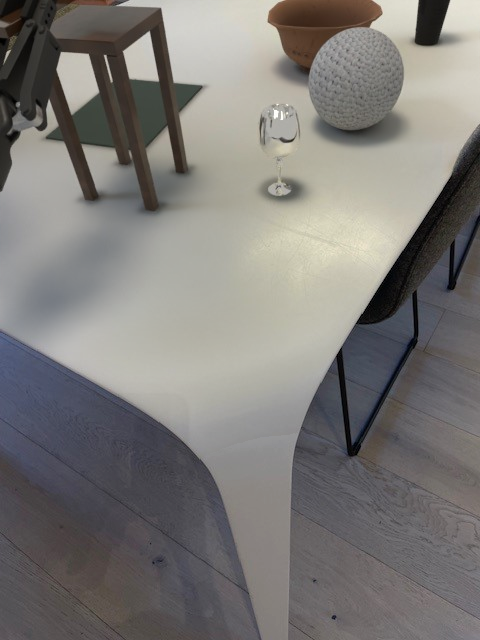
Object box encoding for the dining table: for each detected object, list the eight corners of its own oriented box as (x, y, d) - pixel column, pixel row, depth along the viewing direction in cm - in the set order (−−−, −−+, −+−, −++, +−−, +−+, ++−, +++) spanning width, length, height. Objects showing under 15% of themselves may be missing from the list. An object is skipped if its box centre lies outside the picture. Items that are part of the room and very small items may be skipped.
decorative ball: (410, 138, 81) (430, 39, 70) (322, 153, 80) (328, 54, 69) (375, 100, 91) (387, 8, 80) (297, 113, 90) (298, 21, 79)
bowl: (256, 87, 98) (253, 26, 90) (282, 46, 112) (282, -10, 104) (368, 94, 93) (375, 29, 85) (381, 49, 107) (389, -9, 98)
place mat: (46, 140, 90) (45, 136, 89) (117, 80, 106) (117, 77, 105) (142, 153, 84) (142, 149, 84) (202, 88, 100) (202, 85, 99)
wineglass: (289, 176, 76) (289, 98, 67) (305, 195, 72) (308, 115, 63) (254, 185, 75) (250, 107, 66) (269, 205, 71) (267, 126, 62)
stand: (85, 200, 75) (26, 36, 58) (123, 160, 83) (81, 4, 66) (154, 212, 72) (113, 42, 55) (188, 169, 79) (161, 7, 62)
